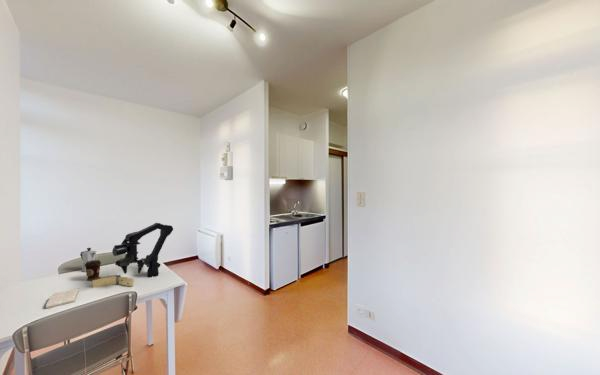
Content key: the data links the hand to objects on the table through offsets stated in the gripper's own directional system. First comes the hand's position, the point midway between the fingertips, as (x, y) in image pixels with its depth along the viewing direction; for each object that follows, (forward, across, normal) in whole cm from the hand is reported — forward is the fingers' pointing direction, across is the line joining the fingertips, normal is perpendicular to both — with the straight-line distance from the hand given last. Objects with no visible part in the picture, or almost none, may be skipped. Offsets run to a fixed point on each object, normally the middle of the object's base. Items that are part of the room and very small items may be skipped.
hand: (132, 273), depth 155 cm
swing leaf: (+6, -3, -4) cm, 8 cm away
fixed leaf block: (+6, -16, -2) cm, 18 cm away
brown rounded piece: (+7, -32, +7) cm, 34 cm away
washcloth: (+7, -26, -21) cm, 34 cm away
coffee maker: (+7, -50, +24) cm, 56 cm away
